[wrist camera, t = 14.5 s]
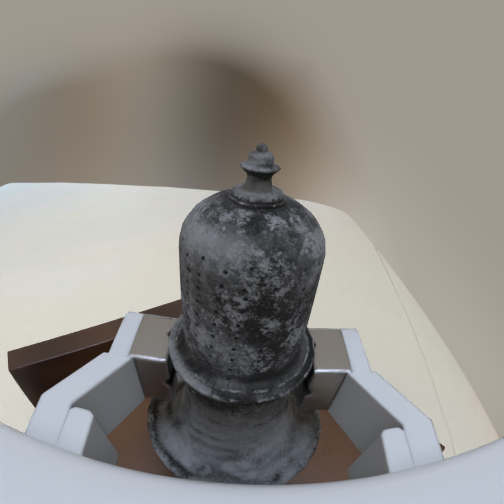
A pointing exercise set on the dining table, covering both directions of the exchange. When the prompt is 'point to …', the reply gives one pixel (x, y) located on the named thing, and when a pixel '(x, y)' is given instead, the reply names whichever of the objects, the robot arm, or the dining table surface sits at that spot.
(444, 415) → the dining table surface
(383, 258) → the dining table surface
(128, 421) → the shelf
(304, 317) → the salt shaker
